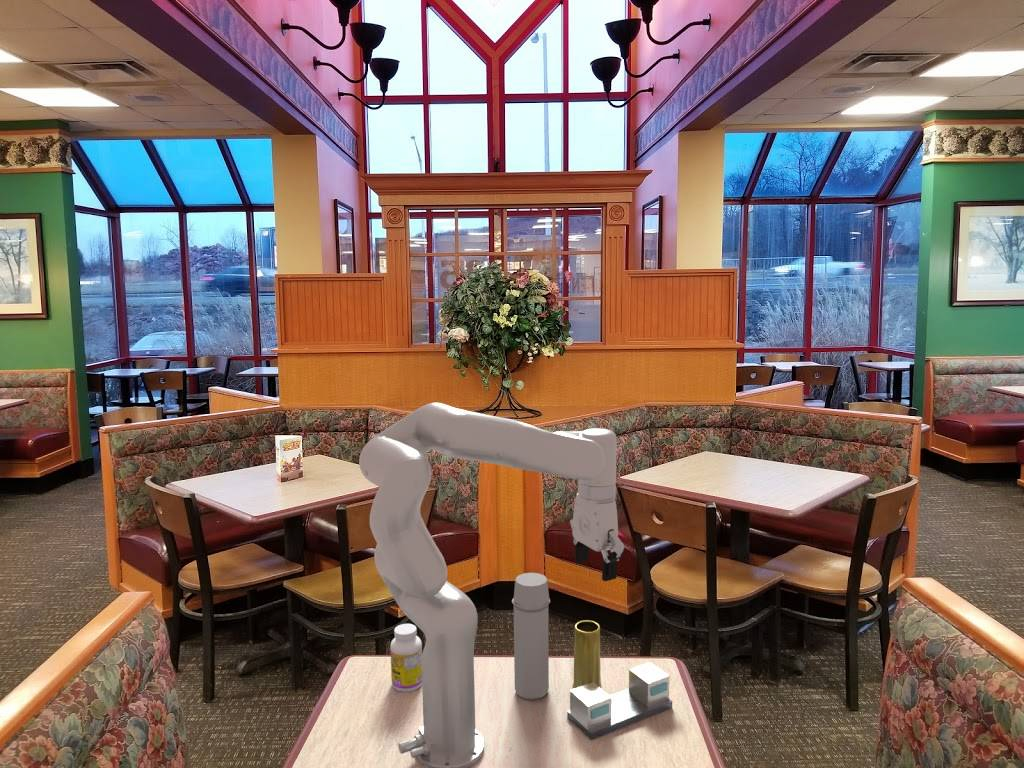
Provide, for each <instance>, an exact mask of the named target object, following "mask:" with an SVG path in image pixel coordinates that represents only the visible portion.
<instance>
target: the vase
mask: <svg viewBox="0 0 1024 768" xmlns="http://www.w3.org/2000/svg"><path fill="white" fill-rule="evenodd" d="M600 626H601V625H600V624H599V623H598V622H596V621H594V620H589V619H588V620H587V619H586V620H580V621H577V622H576V623H575V624H574V634H573V635H574V644H573V645H574V647H573V684H572V689H575V688H578V687H581V686H583V685H586V684H589V683H592V682H594V683H595V684H596V685H597V686H599V687H600V688H601V689H602V680H601V679H602V677H601V627H600ZM602 690H603V689H602Z"/></svg>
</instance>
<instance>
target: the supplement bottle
mask: <svg viewBox="0 0 1024 768" xmlns="http://www.w3.org/2000/svg"><path fill="white" fill-rule="evenodd" d="M417 630H418V629H417V625H416V624H415V625H414V624H412V623H402V624H399V625H397V626H396V627H395V628H394V630H393V631H394V633H393V635H394V638H392V640H391V643H390V645H389V646H390V648H389V649H390V650H389V651H390V672H391V673H390V674H391V686H392V688H394V690H396V691H398V692H401V691H402V692H401V693H408V692H409V691H410V692H412V691H415V690H417V689H419V688H420V687H422V674H421V659H422V653H423V643H422V642H423V641H422V640H421V638H420V637H419V636H418V635H417V634H418V632H417Z"/></svg>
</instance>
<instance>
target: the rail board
mask: <svg viewBox="0 0 1024 768" xmlns="http://www.w3.org/2000/svg"><path fill="white" fill-rule="evenodd" d="M569 700H570V701H569V710H567V711H566V714H567V715H566V718H567V719H568V720H569V721H570V722H571V723H572V724H573V725H574V726H575V727H576V728H577V729H578V730H580V732H581V733H582V734H584V735H585V736H586V737H587V739H589V740H590V741H594V740H596V739H597V738H600V737H603V736H606V735H608V734H610V733H613V732H615V731H617V730H620V729H622V728H625V727H627V726H630V725H633V724H635V723H638V722H640V721H643V720H645V719H648V718H651V717H653V716H655V715H658V714H659V713H663V712H665V711H667V710H671V709H673V700H671V699H670V675H669V674H668V673H667V672H665V671H664V670H662V669H661V668H660V667H659V666H657V665H655V664H654V663H652V662H651V661H648V662H645V663H643V664H640V665H637V666H635V667H632V668H629V669H628V687H627V688H626V689H623V690H619V691H617V692H615V693H612V694H608V693H607V692H606V691H604V689H601V688H600V687H599V686H597V685H596V684H595V683H594V682H592V683H589V684H586V685H583V686H581V687H578V688H575V689H573V688H572V689H570V690H569Z"/></svg>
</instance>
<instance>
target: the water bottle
mask: <svg viewBox="0 0 1024 768" xmlns="http://www.w3.org/2000/svg"><path fill="white" fill-rule="evenodd" d="M511 603H512V604H513V652H514V653H513V655H514V656H513V657H514V659H513V661H514V663H513V664H514V669H513V670H514V671H513V672H514V690H515V692H516V694H517V695H518V696H519V697H521V698H523V699H527V700H537V699H539V700H540V699H541V698H542V697H545V695H547V693H548V692H549V688H550V685H549V680H550V677H549V675H550V673H549V672H550V670H549V669H550V667H549V664H550V663H549V662H550V661H549V657H550V655H549V645H550V643H549V636H550V635H549V604H550V603H551V599H550V593H549V582H548V578H547V577H546V576H545V574H542V573H537V572H525V573H522V574H519V575H517V576H516V578H515V581H514V591H513V598H512V600H511Z"/></svg>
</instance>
